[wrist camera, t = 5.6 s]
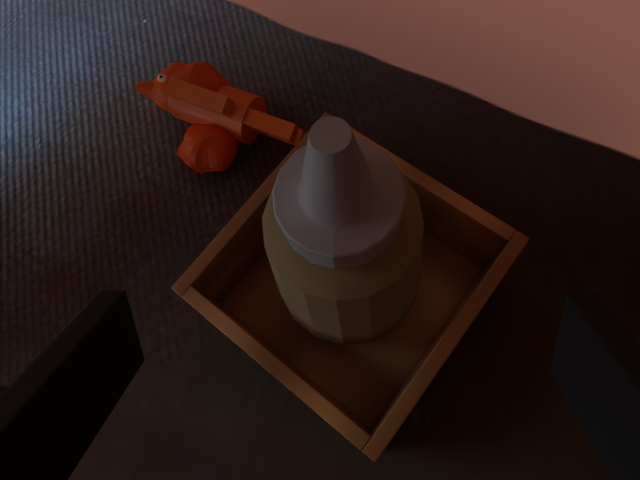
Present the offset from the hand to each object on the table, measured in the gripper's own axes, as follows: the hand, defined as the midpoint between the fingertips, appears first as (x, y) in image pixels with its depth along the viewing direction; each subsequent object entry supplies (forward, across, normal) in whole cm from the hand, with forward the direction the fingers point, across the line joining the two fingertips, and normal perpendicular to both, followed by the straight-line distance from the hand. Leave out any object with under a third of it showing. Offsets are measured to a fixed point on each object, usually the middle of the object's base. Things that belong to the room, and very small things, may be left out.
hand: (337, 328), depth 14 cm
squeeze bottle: (+14, 0, -7) cm, 16 cm away
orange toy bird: (+22, -9, +1) cm, 24 cm away
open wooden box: (+14, 0, -7) cm, 16 cm away
